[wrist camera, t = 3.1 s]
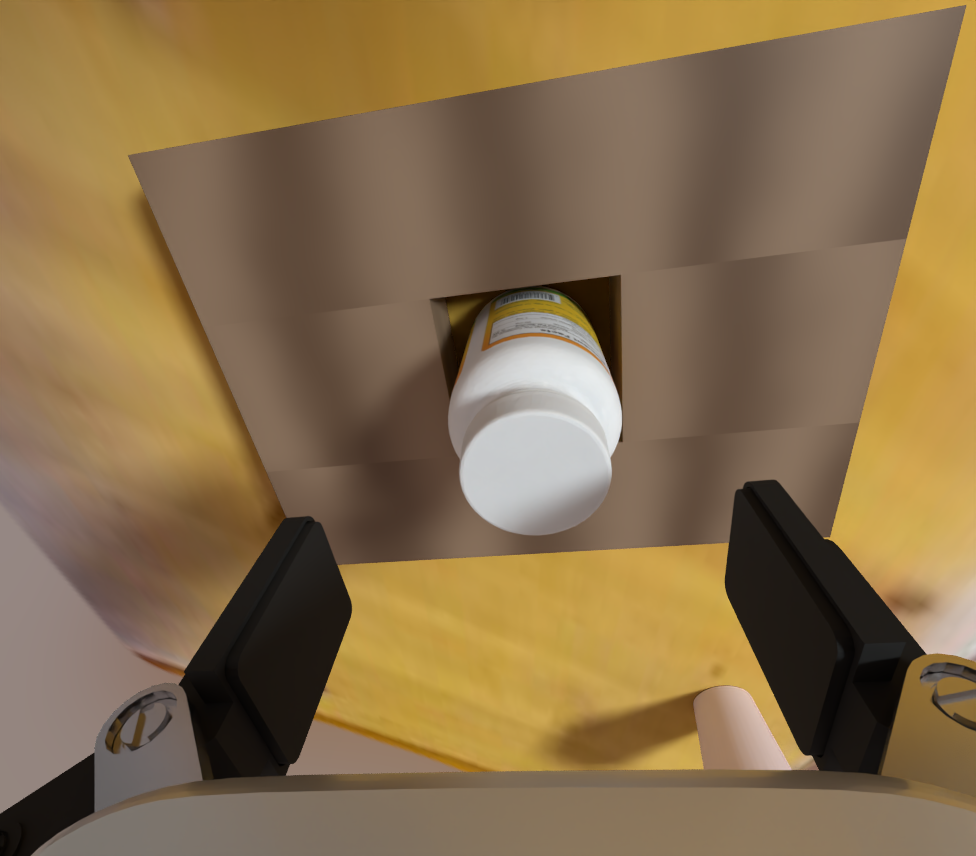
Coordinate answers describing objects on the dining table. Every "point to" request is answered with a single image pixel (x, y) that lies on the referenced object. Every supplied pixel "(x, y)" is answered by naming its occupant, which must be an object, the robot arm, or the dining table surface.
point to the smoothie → (735, 732)
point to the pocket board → (569, 277)
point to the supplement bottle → (534, 414)
